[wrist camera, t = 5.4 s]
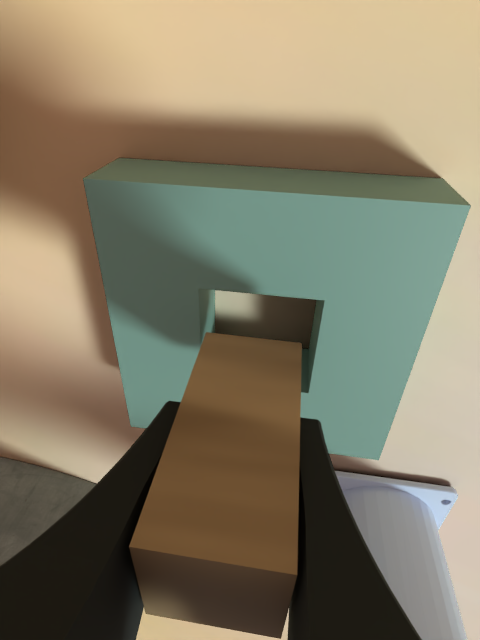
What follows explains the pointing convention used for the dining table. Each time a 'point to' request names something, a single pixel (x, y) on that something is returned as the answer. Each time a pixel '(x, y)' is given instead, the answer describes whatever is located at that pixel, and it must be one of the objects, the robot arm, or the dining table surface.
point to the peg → (227, 492)
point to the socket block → (274, 276)
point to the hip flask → (33, 502)
